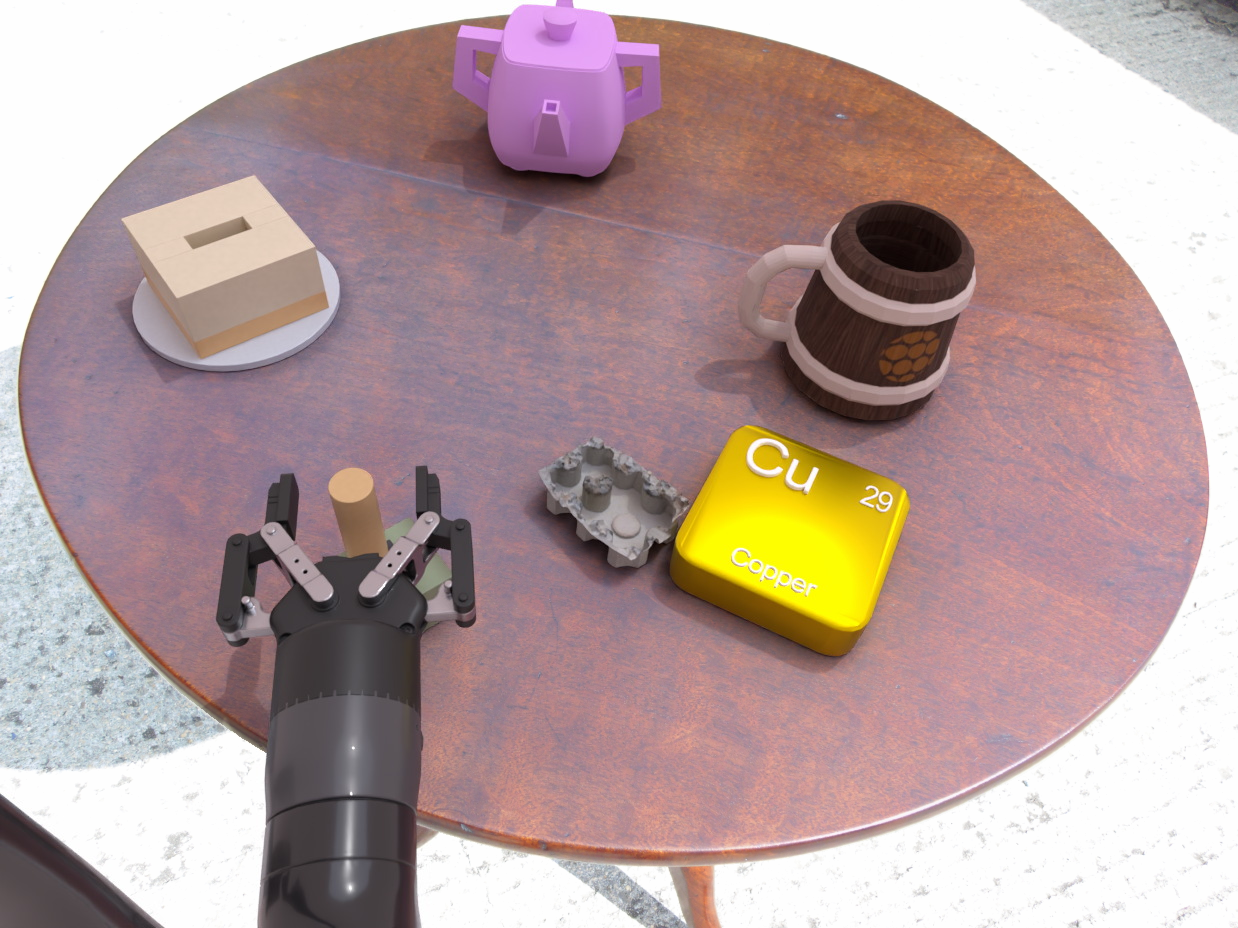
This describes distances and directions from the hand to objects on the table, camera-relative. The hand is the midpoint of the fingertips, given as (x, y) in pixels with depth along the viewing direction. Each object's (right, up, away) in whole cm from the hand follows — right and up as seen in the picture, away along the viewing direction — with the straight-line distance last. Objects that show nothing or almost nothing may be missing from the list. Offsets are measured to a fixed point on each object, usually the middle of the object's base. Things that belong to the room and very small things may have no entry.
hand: (356, 477), depth 57 cm
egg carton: (+15, -3, +16) cm, 23 cm away
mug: (+36, +10, +29) cm, 47 cm away
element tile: (+29, -6, +16) cm, 34 cm away
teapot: (+9, +37, +47) cm, 60 cm away
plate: (-19, +16, +28) cm, 37 cm away
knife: (-1, -10, +9) cm, 14 cm away
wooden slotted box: (-19, +16, +28) cm, 37 cm away
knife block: (-1, -10, +9) cm, 14 cm away
